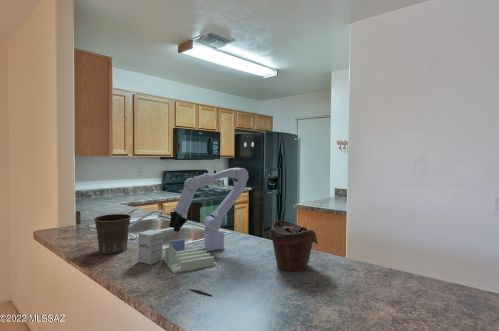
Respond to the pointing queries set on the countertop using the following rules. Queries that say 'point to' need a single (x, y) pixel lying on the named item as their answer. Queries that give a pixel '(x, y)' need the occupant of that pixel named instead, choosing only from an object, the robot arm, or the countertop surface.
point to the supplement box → (150, 246)
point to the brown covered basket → (292, 245)
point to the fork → (192, 289)
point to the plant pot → (112, 232)
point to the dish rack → (187, 259)
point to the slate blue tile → (178, 244)
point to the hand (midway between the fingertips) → (173, 229)
